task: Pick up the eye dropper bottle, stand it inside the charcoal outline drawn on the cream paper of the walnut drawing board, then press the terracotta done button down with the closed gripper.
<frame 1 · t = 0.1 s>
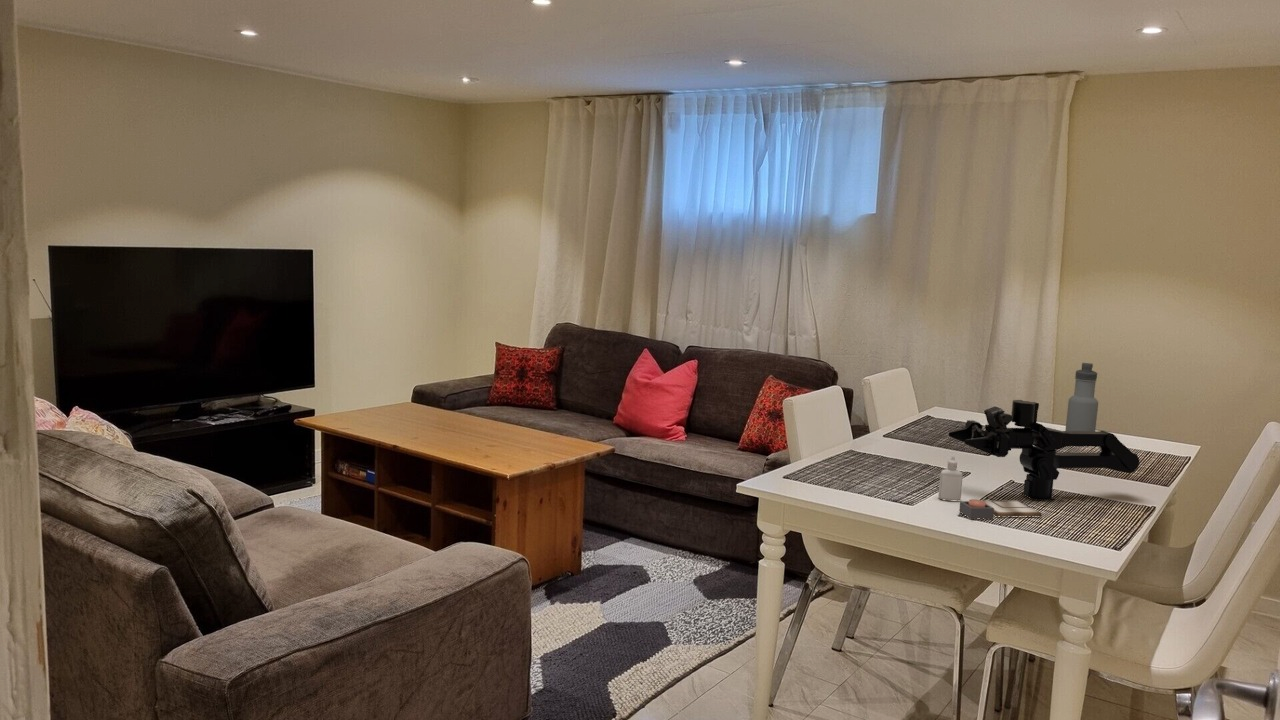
hand: (956, 438, 248), 17 cm above the table, tool horizontal, fingers open, 9 cm apart
drawing board: (1007, 511, 239), on the table
done button housing: (975, 516, 234), on the table
water bottle: (1079, 439, 335), on the table
done button: (976, 505, 233), point 3 cm above the table, slide at 0.0 cm
eye dropper bottle: (949, 500, 248), on the table
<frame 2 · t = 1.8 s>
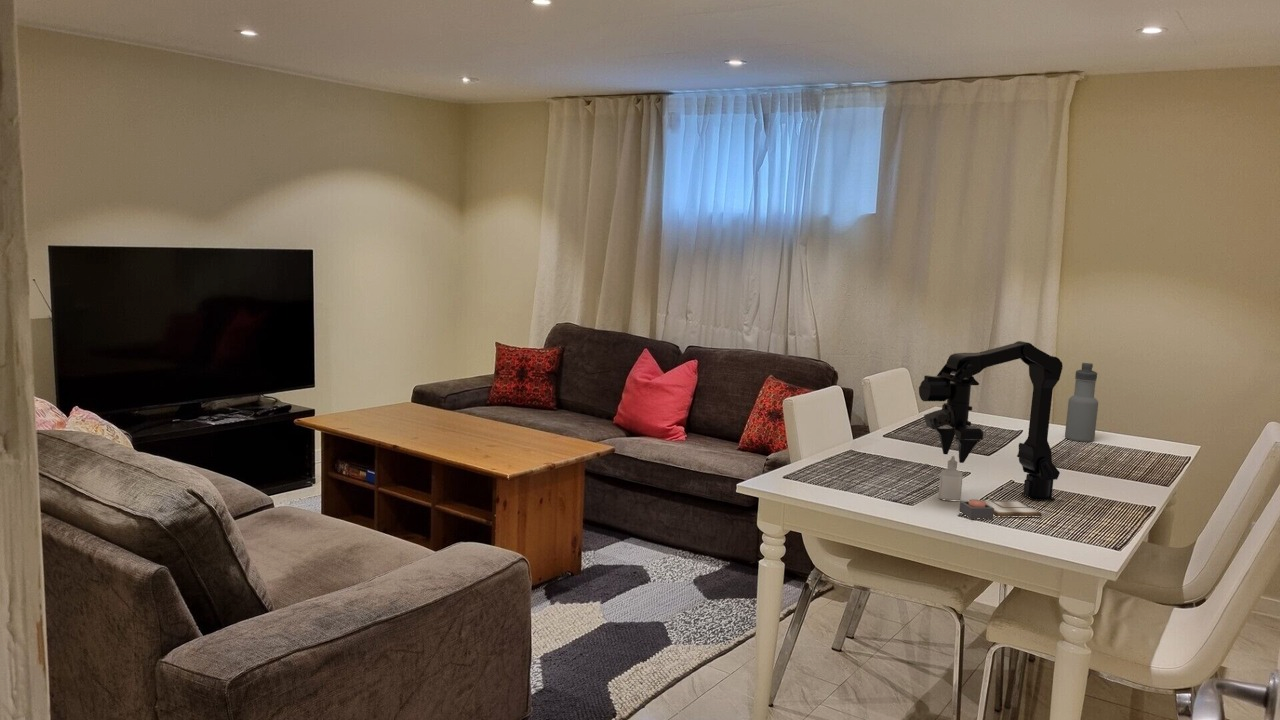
hand: (953, 458, 246), 11 cm above the table, tool pointing down, fingers open, 9 cm apart
nothing on the table moved.
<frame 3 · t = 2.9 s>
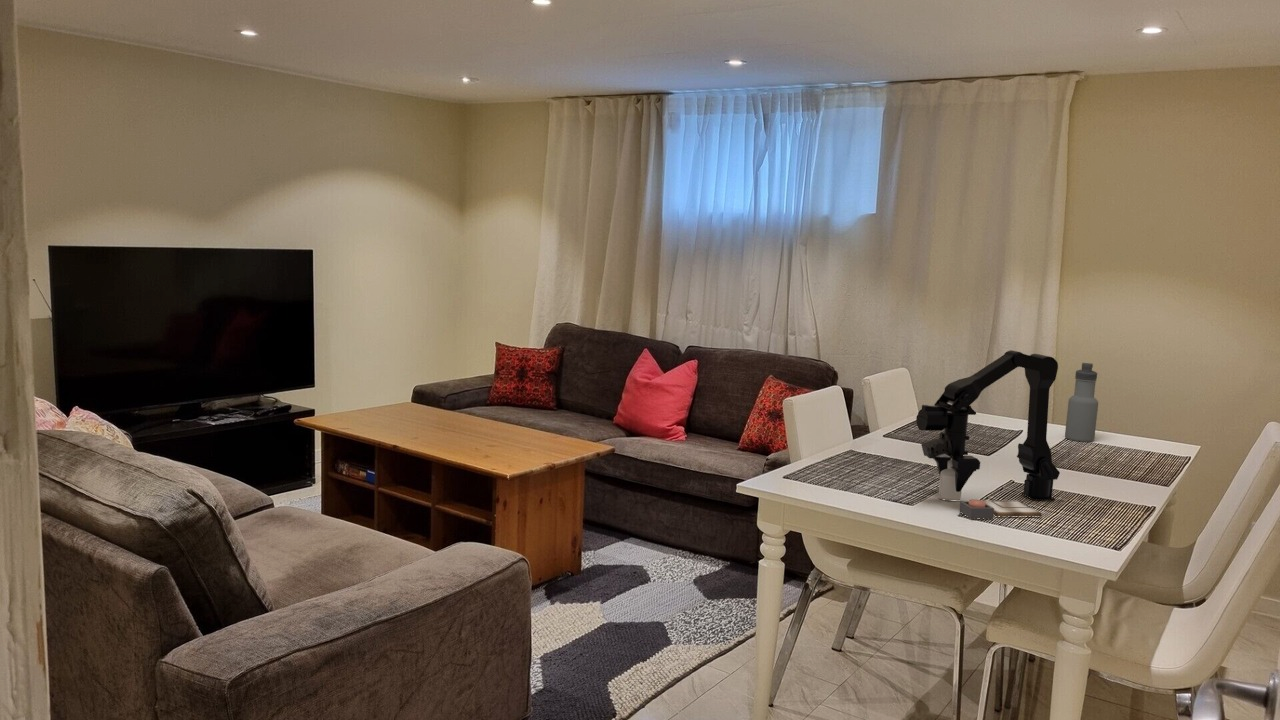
hand: (950, 487, 247), 4 cm above the table, tool pointing down, fingers closed on eye dropper bottle, 8 cm apart
eye dropper bottle: (949, 500, 248), on the table, touching gripper
everything else where it was.
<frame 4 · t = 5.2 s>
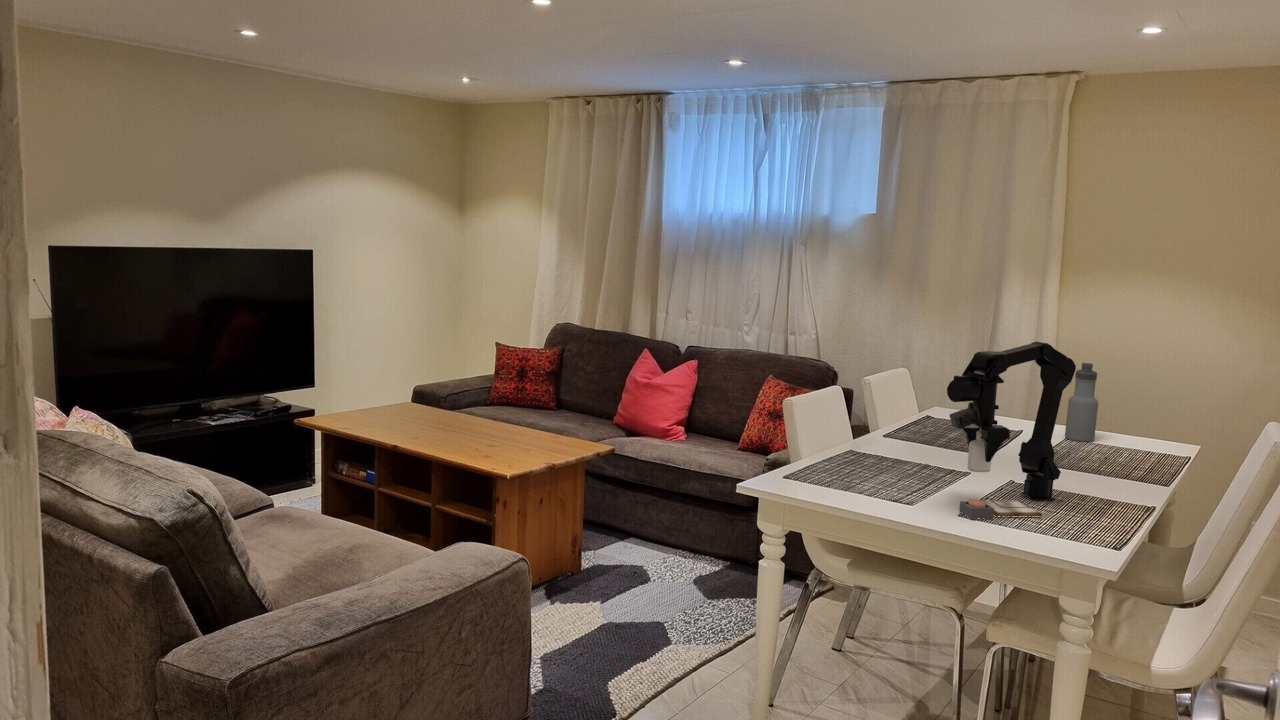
hand: (979, 457, 243), 13 cm above the table, tool pointing down, fingers closed on eye dropper bottle, 8 cm apart
eye dropper bottle: (978, 471, 244), point 9 cm above the table, touching gripper
everything else where it was.
when the fingers open (6 cm above the table, at t = 7.8 s): eye dropper bottle stays where it is, resting on drawing board.
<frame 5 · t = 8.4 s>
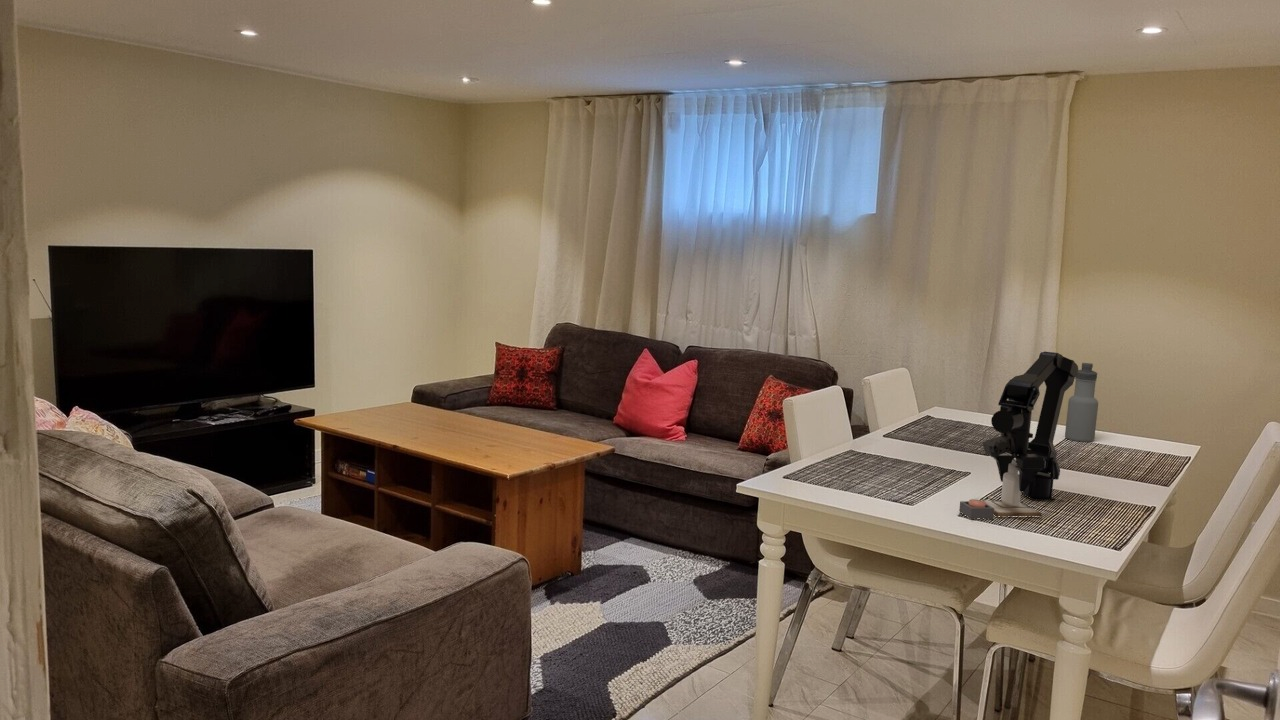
hand: (1012, 486, 240), 6 cm above the table, tool pointing down, fingers open, 9 cm apart
eye dropper bottle: (1010, 504, 241), point 1 cm above the table, touching drawing board
everything else where it was.
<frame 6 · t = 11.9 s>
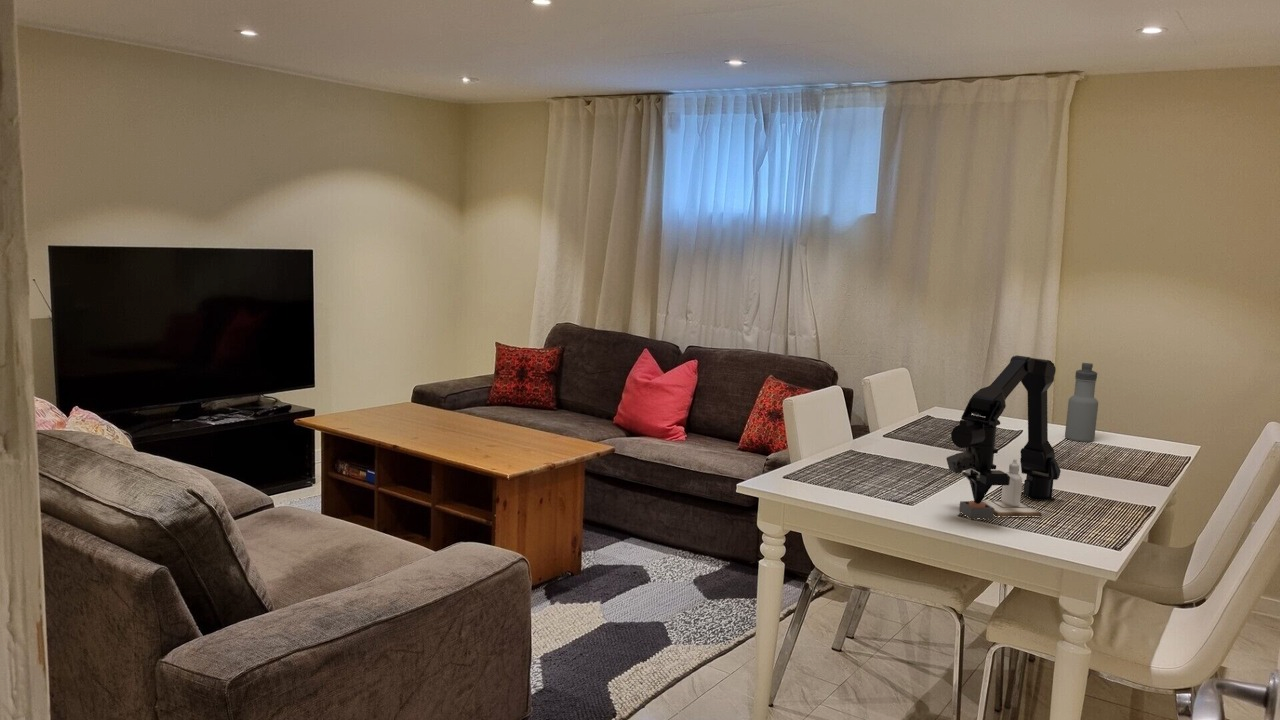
hand: (977, 503, 233), 3 cm above the table, tool pointing down, fingers closed, pressing on done button
done button: (976, 506, 233), point 2 cm above the table, slide at 0.4 cm, touching gripper
everything else where it was.
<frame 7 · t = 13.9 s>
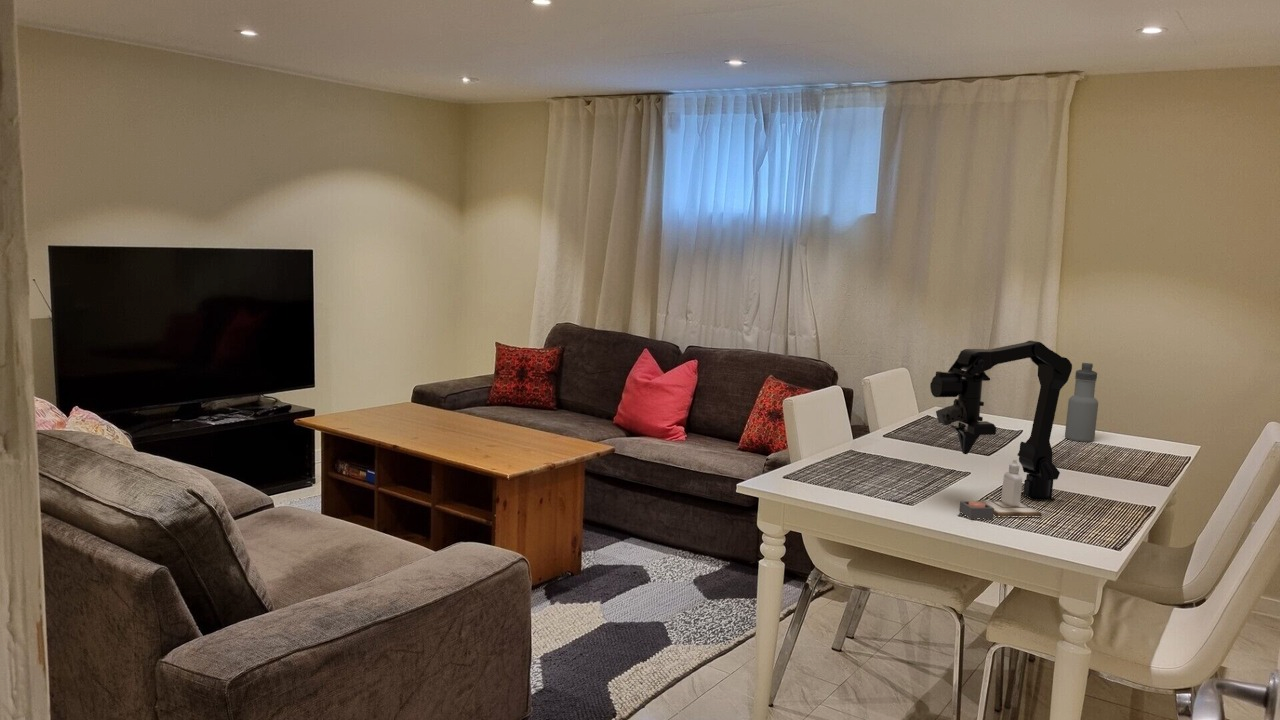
hand: (965, 453, 246), 13 cm above the table, tool pointing down, fingers closed
done button: (976, 507, 233), point 2 cm above the table, slide at 0.4 cm
everything else where it was.
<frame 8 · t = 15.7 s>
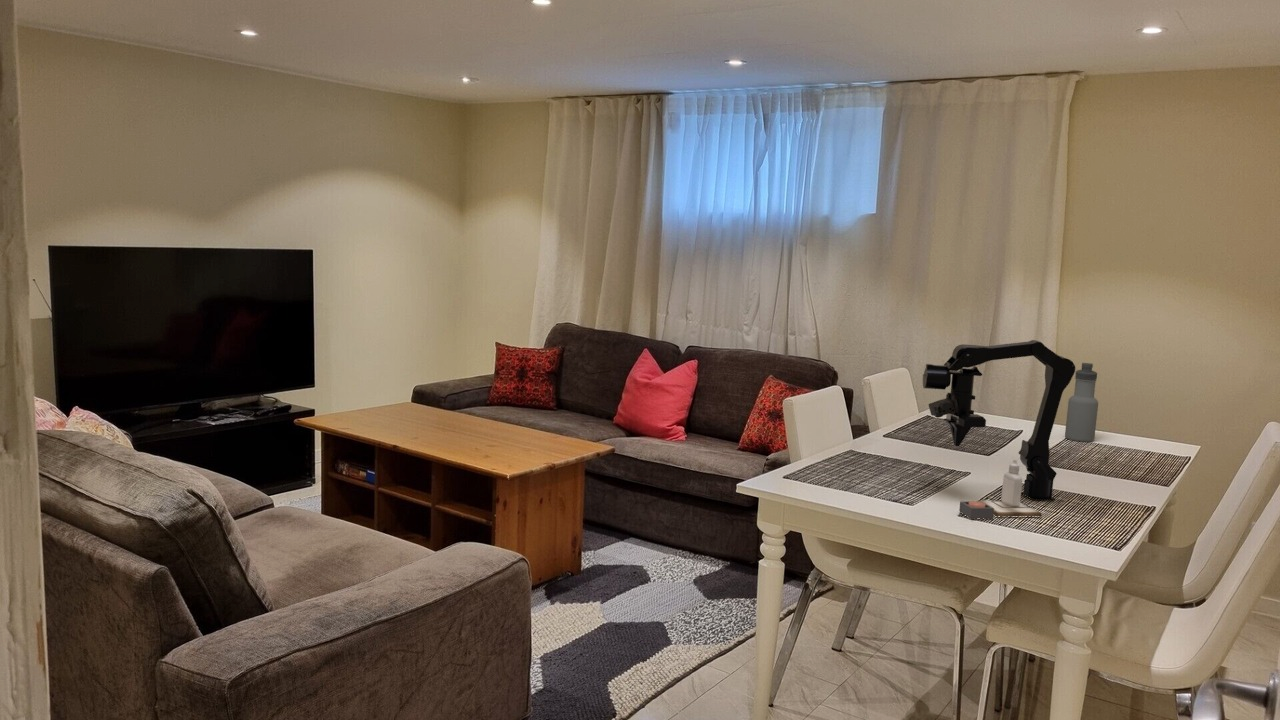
hand: (956, 445, 255), 13 cm above the table, tool pointing down, fingers closed
nothing on the table moved.
at the end: eye dropper bottle 0.3 cm from the target spot, point 1.3 cm above the table; eye dropper bottle tilted 1°; done button slide at 0.4 cm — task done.
